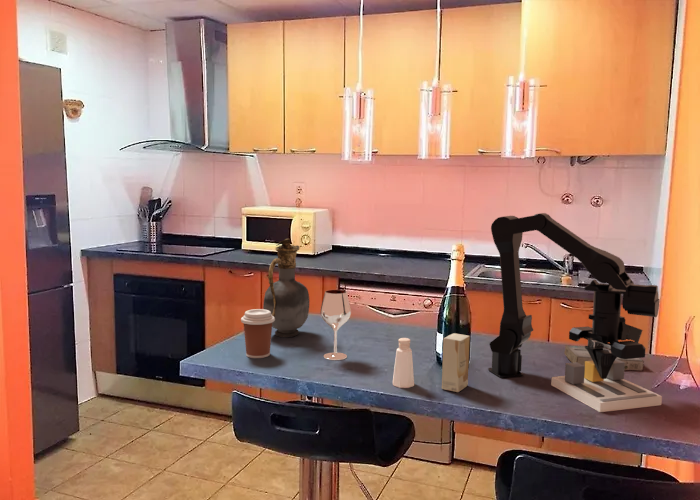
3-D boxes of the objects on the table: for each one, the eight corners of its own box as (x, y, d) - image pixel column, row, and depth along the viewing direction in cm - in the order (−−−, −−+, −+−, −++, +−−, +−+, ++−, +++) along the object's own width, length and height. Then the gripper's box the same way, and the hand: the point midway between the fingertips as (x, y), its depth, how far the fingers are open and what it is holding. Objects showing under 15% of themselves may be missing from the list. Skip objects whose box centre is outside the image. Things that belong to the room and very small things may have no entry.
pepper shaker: (417, 382, 143) (419, 337, 142) (410, 389, 138) (411, 343, 137) (396, 379, 145) (397, 334, 144) (388, 386, 140) (389, 340, 139)
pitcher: (313, 330, 191) (313, 236, 187) (286, 345, 173) (286, 242, 169) (282, 326, 194) (282, 235, 191) (253, 341, 176) (252, 240, 173)
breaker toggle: (592, 381, 138) (593, 365, 137) (584, 377, 141) (585, 361, 140) (603, 380, 139) (604, 364, 138) (594, 376, 141) (595, 360, 141)
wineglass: (315, 359, 160) (315, 293, 158) (327, 351, 168) (328, 287, 166) (343, 362, 157) (344, 295, 155) (354, 354, 165) (355, 290, 163)
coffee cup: (265, 361, 158) (265, 316, 156) (235, 357, 161) (234, 313, 159) (280, 351, 166) (280, 309, 165) (251, 348, 169) (250, 307, 168)
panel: (599, 412, 126) (601, 382, 125) (551, 385, 142) (552, 359, 141) (661, 404, 131) (663, 376, 130) (607, 379, 147) (609, 354, 146)
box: (563, 355, 166) (564, 344, 165) (627, 358, 165) (628, 347, 164) (575, 368, 155) (576, 356, 155) (643, 372, 154) (644, 360, 154)
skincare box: (458, 393, 136) (460, 341, 135) (440, 389, 138) (442, 338, 137) (468, 385, 142) (470, 334, 140) (451, 381, 144) (453, 332, 142)
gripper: (668, 318, 128) (664, 388, 130) (607, 302, 146) (604, 364, 148) (625, 320, 125) (621, 393, 127) (568, 304, 143) (566, 368, 144)
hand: (603, 378), depth 136 cm, fingers closed
